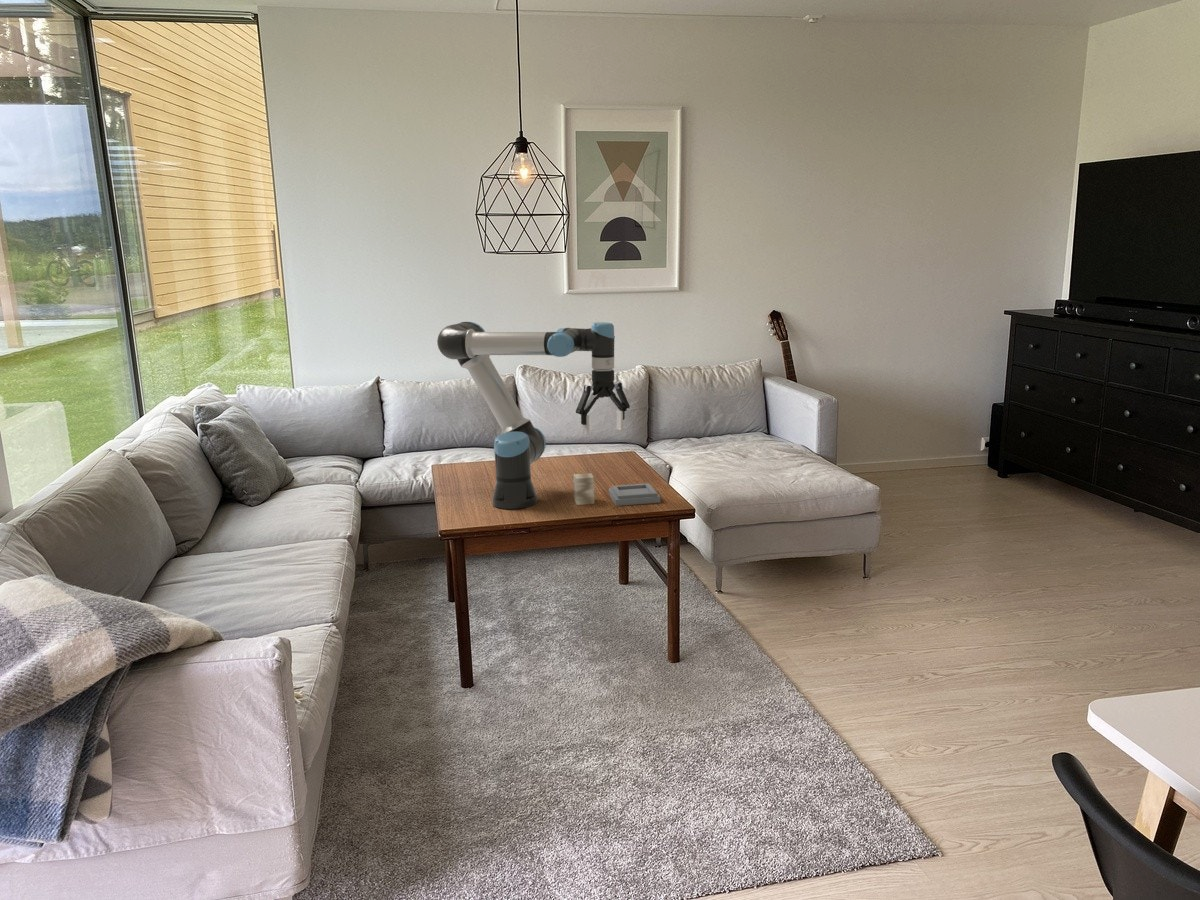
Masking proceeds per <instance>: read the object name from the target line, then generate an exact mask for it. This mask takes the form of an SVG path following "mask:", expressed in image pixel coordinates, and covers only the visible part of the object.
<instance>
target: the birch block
mask: <svg viewBox="0 0 1200 900" xmlns="http://www.w3.org/2000/svg"><path fill="white" fill-rule="evenodd" d="M594 479H595V478H594V476H593V474H592V473H591V472H588V473H573V498H574V499H573V500H574V502H575V505H576V506H578V505H579V506H581V505H593V504H595V480H594Z"/></svg>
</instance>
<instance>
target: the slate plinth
mask: <svg viewBox="0 0 1200 900" xmlns="http://www.w3.org/2000/svg"><path fill="white" fill-rule="evenodd" d="M608 495H609V496H610V498H611V500H612V502H613V503H614V506H615V507H617V506H619V507H620V506H633V505H645V504H646V505H647V504H657V503H658V504H660V503H662V502H661V501H662V500H661V495H660V494H659V493H658V492H657V491H656V489H655V488H654V487H653V485H652V484H650V483H637V484H635V483H634V484H624V485H623V484H619V485H611V487H609V488H608Z"/></svg>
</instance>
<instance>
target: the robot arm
mask: <svg viewBox="0 0 1200 900" xmlns="http://www.w3.org/2000/svg"><path fill="white" fill-rule="evenodd" d="M436 342H437V348H438V351H440V353H441V354H442V356H444V357H445V358H447V359H450V360H456V361H458V364H459V365H460V367H461V368H463V369H466V370H467V371H468V372H469V374H470V376H471V378H472V380H473V381H474V382H475V385H476V387H477V388H478V390H479V392H480V394H481V395H482V397H483V398H484V401H485V403H486V404H487V406H488V407H489V409H490V411H491V412H492V414H493V416H494V418H495V419H496V422H497V424H498V425H499V427H500V428H501V433H500V434H498V435H497V436H496V437H495V439H494V442H493V443H494V444H493V450H494V451H493V452H494V463H495V464H494V465H495V478H496V479H495V480H496V481H495V485H494V489H493V490H494V491H493V494H492V498H491V502H492V505H493V506H494V507H495V508H498V509H502V510H503V509H505V510H519V509H524V508H529V507H532V506H534V505H536V504H537V503H538V494H537V491H536V489H535V486H534V483H533V481H532V474H531V464H533V463H534V462H536V461H537V460H539V459H540V458H541V457H542V455H543V453H544V452H545V450H546V446H547V445H546V444H547V442H546V438H545V435H544V433H543V432H542V431H541V430H540V429H539V428H536V427H535V426H534V425H533V423H532V422H531V420H530V418H525V417H524V416H523V414H522V412H521V411H520V409H519V407H518V405H517V403H516V401H515V400H514V398H513V396H512V394H511V393H510V391H509V390H508V388H507V385H506V384H505V383H504V380H503V379H502V377H501V375H500V374H499V372H498V370H497V368H496V366H495V365H494V363H493V361H492V359H491V358H490V356H553V357H557V358H558V357H559V358H561V357H562V358H564V357H567V356H568V355H570V354H573V353H575V352H591V368H592V370H591V381H592V384H591V385H587V384H585V385H584V386H583V393H582V395H581V397H580V399H579V402H578V405H577V407H576V410H575V414H578V415H580V423H581V424H580V425H582V433H583V434H584V435H587V436H590V415H588V414H589V412H590V411H591V409H592V408H593V406H594V405H595V403H596V402H597V401H598V400H599V399H600V398H602V399H603V398H610V399H611V401H612V403H614V405H615V407H617V408H618V409H616V430H619V431H623V430H624V421H625V417H626V416H625V414H626V413H625V412H627V409H630V408H631V406H630V404H629V403H630V402H629V401H628V399H627V397H626V394H625V391H624V390H623V383H622V382H621V381H620V382H619V381H615V371H614V369H615V326H614V324H613V323H612V322H607V321H606V322H600V321H599V322H592V324H591V327H590V328H577V327H575V328H572V327H561V328H558V329H557V330H556V331H485V329H484V328H483V327H482V326H481V325H480V324H479V323H476V322H474V321H461V322H459V323H455V324H454V323H453V324H449V325H447V326H445V327H444V328H442V330H441V331H440V332H439V334H438V335H437V340H436ZM614 381H615V382H614ZM614 389H615V391H616V393H617V395H616V393H615V392H614ZM591 392H592V393H591ZM617 396H618V397H617Z"/></svg>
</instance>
